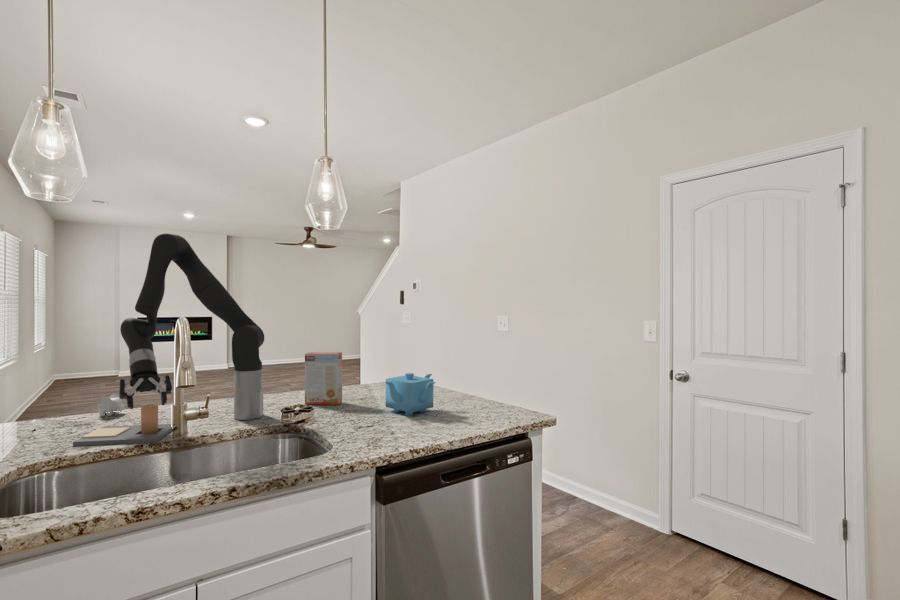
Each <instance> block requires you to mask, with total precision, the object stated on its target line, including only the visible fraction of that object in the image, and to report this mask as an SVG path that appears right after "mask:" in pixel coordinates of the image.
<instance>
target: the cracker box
mask: <svg viewBox="0 0 900 600" xmlns="http://www.w3.org/2000/svg"><path fill="white" fill-rule="evenodd" d="M342 402H343V351H342V352H340V351H339V352H337V351H336V352H333V351H330V352H329V351H310V352H306V353H304V404H305V405H326V406H328V405H329V406H338V405H340V404H341V403H342Z"/></svg>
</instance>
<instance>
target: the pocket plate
mask: <svg viewBox="0 0 900 600" xmlns="http://www.w3.org/2000/svg"><path fill="white" fill-rule="evenodd" d="M171 424H172V423H163V424H160V423H158V433H156V434H141V424H139V425H138V424H137V425H135V424H134V425H115V426H114V425H111V426H109V425H108V426H102V427H100V428H97V429H95V430H93V431H91V432H89V433H87V434H85V435H82V436H81V437H80V438H78V439H75V440H74V441H72V447H79V446H81V447H82V446H83V447H84V446H102V445H105V444H106V445H125V444H124V443H128V444H144V443H145V444H146V443H148V442H149V443H156V442H159V440H161V439H163V438H164V437H165V436H167V435H169V434H170V433H171V432H172V431H171V430H172V427H171Z"/></svg>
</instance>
